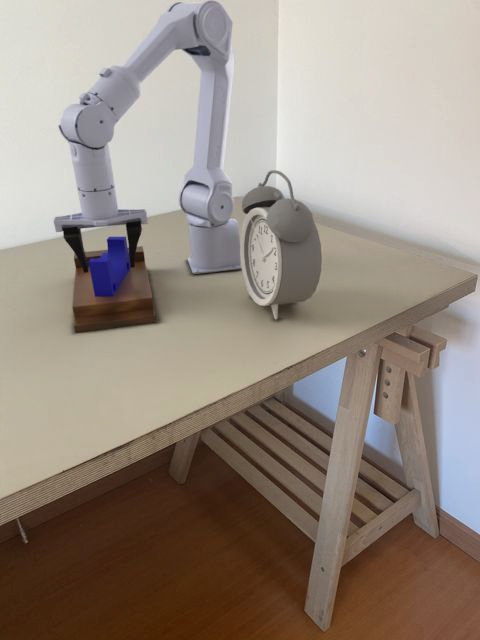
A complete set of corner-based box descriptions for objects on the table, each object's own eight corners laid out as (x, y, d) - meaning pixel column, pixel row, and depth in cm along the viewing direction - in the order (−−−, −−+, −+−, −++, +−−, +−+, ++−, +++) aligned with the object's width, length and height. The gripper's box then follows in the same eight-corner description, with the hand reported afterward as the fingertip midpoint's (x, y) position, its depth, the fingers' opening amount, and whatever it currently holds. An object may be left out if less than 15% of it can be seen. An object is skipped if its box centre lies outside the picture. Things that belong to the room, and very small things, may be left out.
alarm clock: (237, 291, 99) (231, 163, 88) (281, 282, 102) (281, 158, 91) (275, 331, 86) (274, 187, 75) (325, 320, 89) (331, 180, 78)
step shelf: (145, 269, 109) (142, 246, 106) (156, 322, 89) (152, 294, 87) (79, 276, 106) (74, 252, 104) (75, 332, 87) (69, 304, 84)
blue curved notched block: (106, 268, 102) (100, 236, 99) (130, 268, 101) (126, 236, 98) (85, 296, 91) (79, 261, 88) (113, 296, 91) (107, 261, 88)
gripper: (45, 197, 83) (63, 281, 90) (144, 189, 86) (154, 271, 93) (49, 186, 89) (65, 266, 96) (141, 179, 92) (151, 257, 99)
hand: (109, 268), depth 95 cm, fingers open, 7 cm apart
